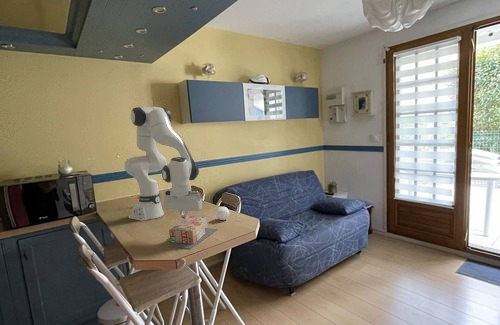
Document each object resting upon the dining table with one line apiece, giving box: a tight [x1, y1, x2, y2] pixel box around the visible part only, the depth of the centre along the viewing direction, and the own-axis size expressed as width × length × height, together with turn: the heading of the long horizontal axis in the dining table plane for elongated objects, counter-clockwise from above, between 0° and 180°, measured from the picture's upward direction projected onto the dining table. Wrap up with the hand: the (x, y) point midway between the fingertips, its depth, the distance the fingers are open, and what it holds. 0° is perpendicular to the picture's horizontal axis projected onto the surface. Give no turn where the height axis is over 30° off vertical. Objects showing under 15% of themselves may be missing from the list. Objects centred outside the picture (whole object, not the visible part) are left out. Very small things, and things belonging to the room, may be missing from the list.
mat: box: [167, 227, 218, 250], centre depth 130 cm, size 12×24×1 cm, turn 157°
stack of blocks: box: [168, 215, 208, 244], centre depth 133 cm, size 21×6×12 cm
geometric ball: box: [215, 206, 230, 221], centre depth 154 cm, size 8×8×8 cm
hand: (184, 218), depth 131 cm, fingers closed
